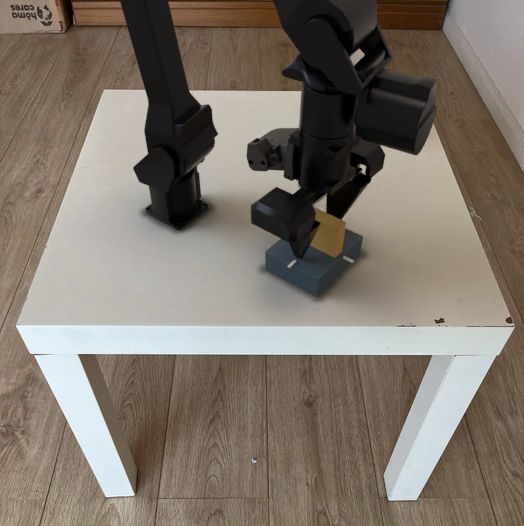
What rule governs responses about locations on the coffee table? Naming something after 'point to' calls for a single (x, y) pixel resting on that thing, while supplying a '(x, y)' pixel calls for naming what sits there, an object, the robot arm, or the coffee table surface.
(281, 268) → the base
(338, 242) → the tap handle
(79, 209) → the coffee table surface
